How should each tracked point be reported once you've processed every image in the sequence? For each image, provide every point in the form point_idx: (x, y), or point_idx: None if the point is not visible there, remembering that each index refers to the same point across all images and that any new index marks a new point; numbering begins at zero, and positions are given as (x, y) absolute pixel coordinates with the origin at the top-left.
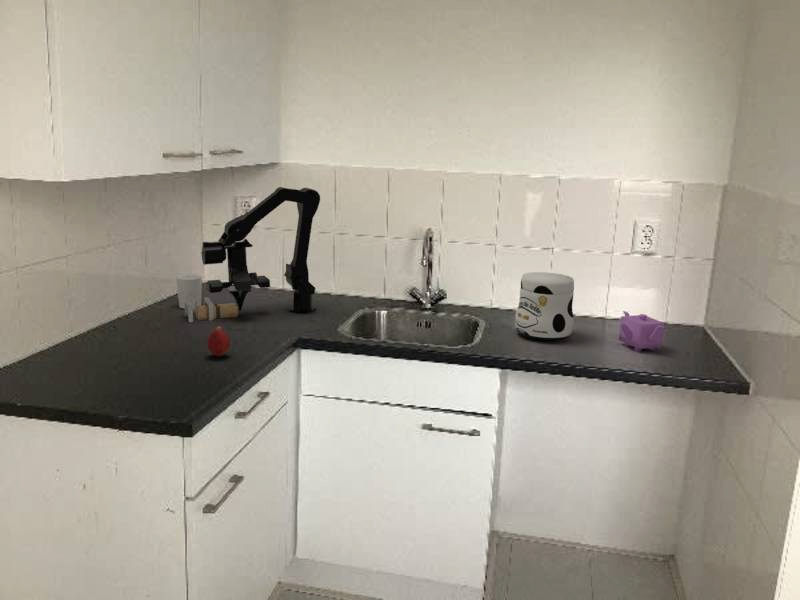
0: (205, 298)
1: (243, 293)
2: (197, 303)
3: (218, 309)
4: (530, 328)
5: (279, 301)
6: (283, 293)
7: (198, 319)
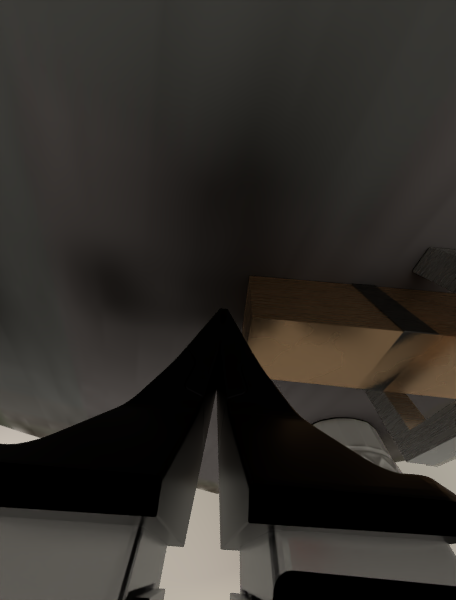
0: (452, 454)
1: (158, 426)
2: (337, 438)
3: (401, 317)
4: None
5: (60, 394)
6: None
7: None
